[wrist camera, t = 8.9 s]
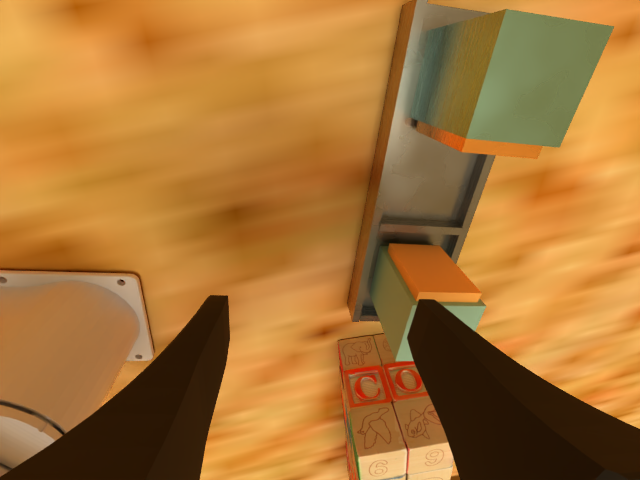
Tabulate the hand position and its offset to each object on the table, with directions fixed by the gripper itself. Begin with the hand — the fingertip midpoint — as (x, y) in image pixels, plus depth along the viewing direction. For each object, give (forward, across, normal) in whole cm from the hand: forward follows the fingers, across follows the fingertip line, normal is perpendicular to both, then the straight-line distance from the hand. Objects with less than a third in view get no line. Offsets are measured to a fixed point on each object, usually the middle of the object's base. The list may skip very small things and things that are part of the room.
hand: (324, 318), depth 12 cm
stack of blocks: (+10, -8, +21) cm, 25 cm away
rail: (+10, -7, -2) cm, 12 cm away
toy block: (+9, -7, +4) cm, 12 cm away
